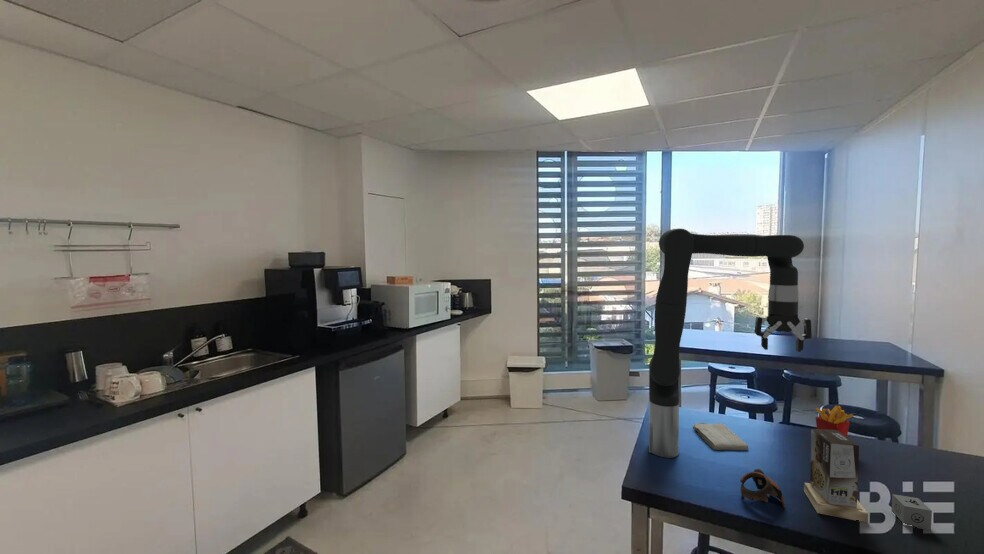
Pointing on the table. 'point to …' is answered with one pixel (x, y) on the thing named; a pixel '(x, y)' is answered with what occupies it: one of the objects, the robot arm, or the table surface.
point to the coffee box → (834, 467)
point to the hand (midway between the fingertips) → (781, 350)
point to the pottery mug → (761, 487)
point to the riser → (834, 506)
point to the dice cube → (912, 511)
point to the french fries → (833, 420)
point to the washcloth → (719, 437)
